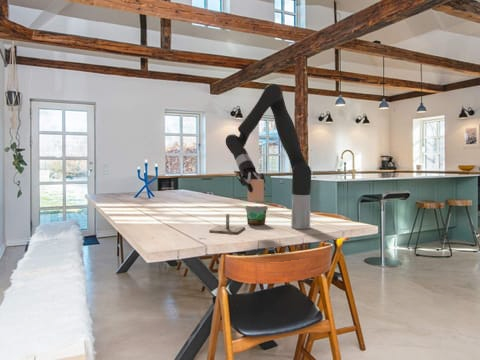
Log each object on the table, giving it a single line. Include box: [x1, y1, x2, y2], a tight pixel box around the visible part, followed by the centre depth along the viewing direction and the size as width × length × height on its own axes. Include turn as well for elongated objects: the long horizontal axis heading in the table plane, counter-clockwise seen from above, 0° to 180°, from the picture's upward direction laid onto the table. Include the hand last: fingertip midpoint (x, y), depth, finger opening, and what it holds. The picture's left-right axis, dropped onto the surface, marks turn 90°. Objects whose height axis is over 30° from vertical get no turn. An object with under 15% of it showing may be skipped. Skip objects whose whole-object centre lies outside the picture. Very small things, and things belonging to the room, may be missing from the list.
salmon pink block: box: [246, 179, 265, 203], centre depth 166 cm, size 6×6×10 cm
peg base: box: [208, 213, 246, 235], centre depth 171 cm, size 14×13×8 cm
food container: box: [244, 205, 269, 227], centre depth 186 cm, size 12×6×10 cm, turn 76°
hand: (257, 190), depth 164 cm, fingers closed on salmon pink block, 5 cm apart
